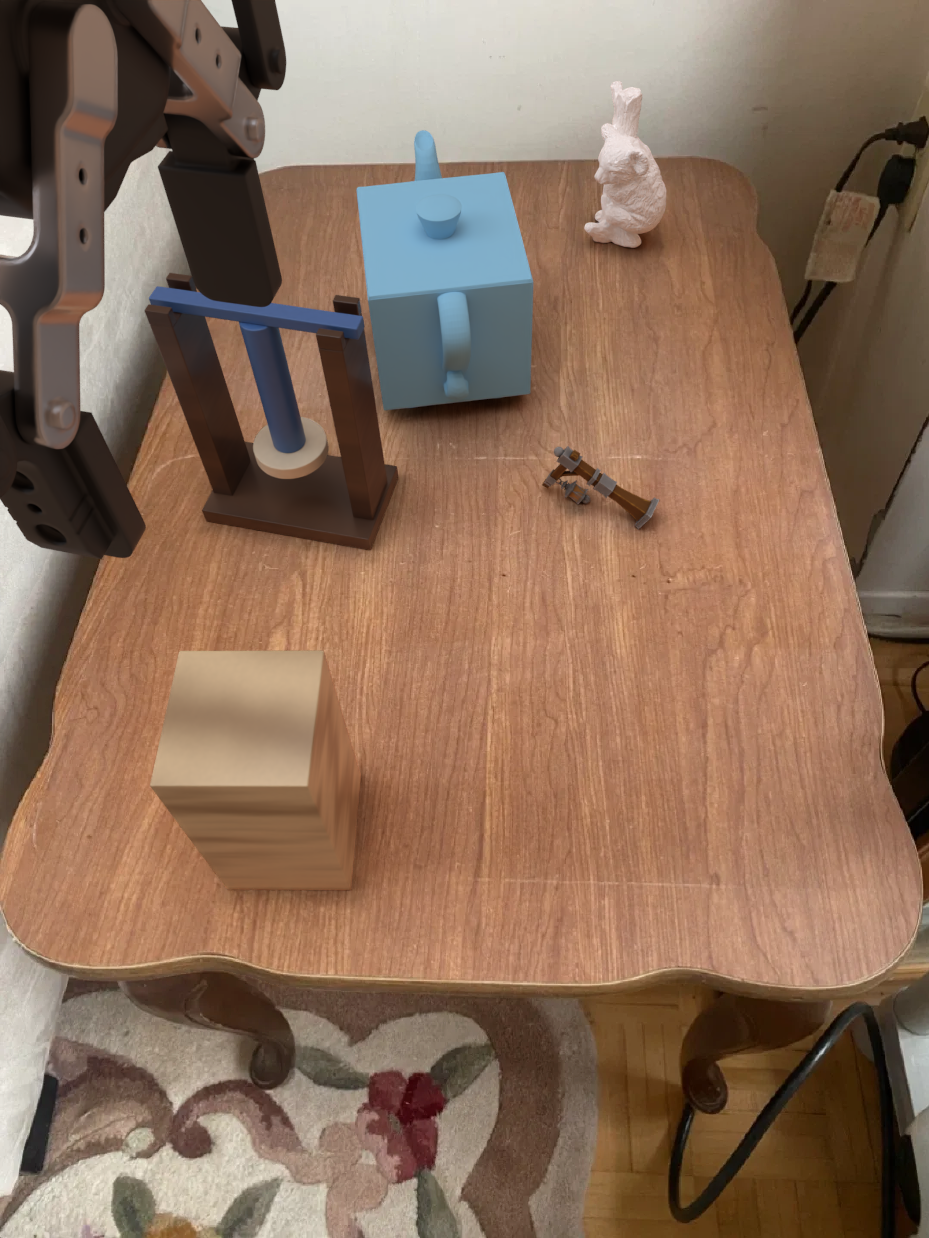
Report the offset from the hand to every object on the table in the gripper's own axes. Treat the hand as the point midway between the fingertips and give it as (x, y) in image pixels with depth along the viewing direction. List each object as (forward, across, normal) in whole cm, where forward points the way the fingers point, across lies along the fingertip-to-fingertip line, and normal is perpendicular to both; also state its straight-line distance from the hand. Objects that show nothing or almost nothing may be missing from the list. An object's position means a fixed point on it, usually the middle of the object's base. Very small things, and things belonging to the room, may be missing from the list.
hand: (177, 407), depth 23 cm
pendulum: (+31, -26, -13) cm, 43 cm away
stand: (+36, -26, -13) cm, 46 cm away
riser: (+36, -2, -5) cm, 36 cm away
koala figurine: (+36, -62, +5) cm, 72 cm away
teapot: (+36, -44, -7) cm, 58 cm away
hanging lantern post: (+36, -30, +8) cm, 48 cm away
